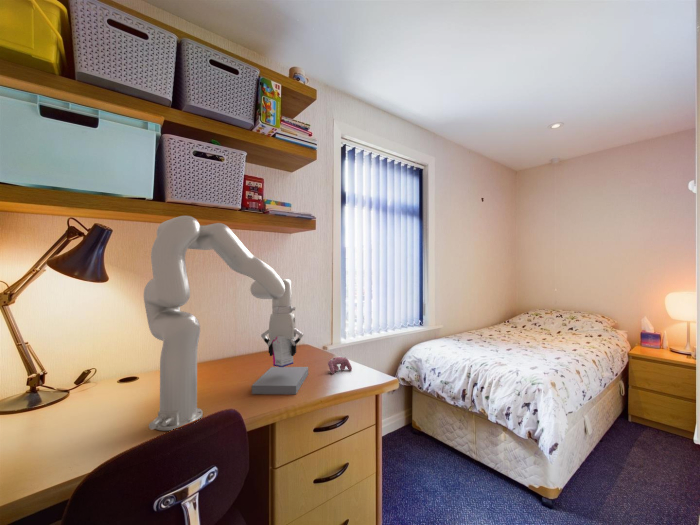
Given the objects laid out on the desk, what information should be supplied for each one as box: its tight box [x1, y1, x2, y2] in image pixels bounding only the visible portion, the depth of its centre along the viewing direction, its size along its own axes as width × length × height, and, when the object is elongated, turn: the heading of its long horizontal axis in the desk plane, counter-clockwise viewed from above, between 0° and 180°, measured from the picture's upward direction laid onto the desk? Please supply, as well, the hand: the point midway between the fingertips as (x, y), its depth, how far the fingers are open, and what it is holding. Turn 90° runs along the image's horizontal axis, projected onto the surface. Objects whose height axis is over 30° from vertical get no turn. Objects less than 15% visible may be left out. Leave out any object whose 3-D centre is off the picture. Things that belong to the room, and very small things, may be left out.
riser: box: [251, 366, 309, 395], centre depth 118 cm, size 22×16×3 cm
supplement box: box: [272, 336, 294, 367], centre depth 119 cm, size 6×6×12 cm
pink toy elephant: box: [327, 356, 353, 375], centre depth 133 cm, size 10×5×7 cm, turn 116°
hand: (282, 355), depth 119 cm, fingers closed on supplement box, 8 cm apart
